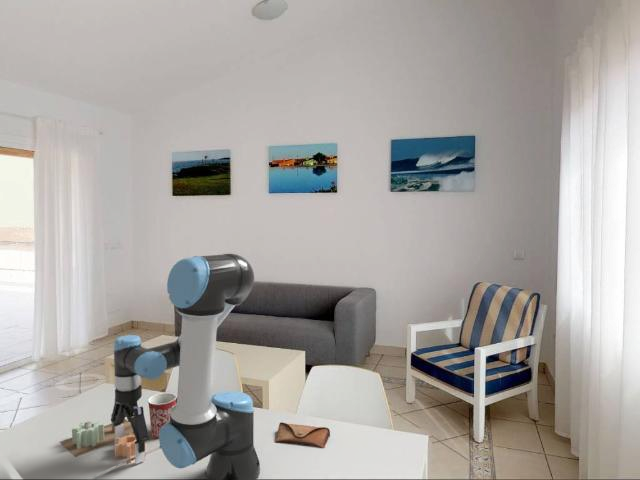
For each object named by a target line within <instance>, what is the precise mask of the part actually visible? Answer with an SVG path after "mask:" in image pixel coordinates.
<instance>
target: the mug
mask: <svg viewBox="0 0 640 480" xmlns="http://www.w3.org/2000/svg"><path fill="white" fill-rule="evenodd" d="M147 402H148V410H149V422H150V431H151V432H150V434H151V437H152V438H154V439H158V440H159V430H160V428H161V427H162V426H163V425H164V424H165V423H169V421H170V411H171V409H172V407H173V406H174V405H176V404H177V394H175V393H172V392H160V393H157V394H154V395H152V396H150V397H149V398H148V399H147Z"/></svg>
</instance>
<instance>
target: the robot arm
mask: <svg viewBox="0 0 640 480" xmlns="http://www.w3.org/2000/svg"><path fill="white" fill-rule="evenodd" d="M254 283H255V272H254V269H253V267H252V265H251V264H250V262H249V261H248V260H247V259H246V258H245V257H243V256H240V255H239V254H235V253H223V254H213V255H201V256H200V255H195V256H192V257H186V258H182V259H180V260H178V261H177V262H176V263H175V264H174V265H173V266H172V268H171V269H170V271H169V274H168V277H167V281H166V287H167V288H166V291H167V294H169V296H168V298H169V300H170V302H171V303H172V305H173V306H175V307H176V309H175V311H176V312H177V313H178V314H179V315H180V316H181V317H182V318H181V330H180V331H181V333H180V335H179V336H178V338H177V339H176V340H175V341H173V342H169V343H165V344H161V345H158V346H154V347H149V348H147V347H143V346H142V340H141V337H140V336H139V335H137V334H126V335H122V336H119V337H117V338H116V339H115V340H114V344H113V345H114V347H113V364H114V367H113V368H114V376H113V377H114V380H113V381H114V404H113V410H112V412H111V414H112V416H111V417H110V421H111V423H112V422H114V423H113V424H114V426H115V442H114V445H115V444H116V438H118V437H120V438H123V437H124V424H121V423H124V419H126V418H127V419H126V420H127V421H128V422H130V423H131V426H132V429H133V432H134V435H135V438H136V442H135V455H134V457H135V459H134V460H135V465H138V464H139V463H143V462H144V461H146V442H147V441H149V440H150V436H149V430H148V426H147V422H146V419H145V414H144V406H139V405H138V401H139V400H140V399H141V398H142V396H143V395H142V394H143V393H142V392H143V391H142V390H143V389H142V378H143V379H147V380H156V379H158V378H160V377H161V376H162V375H163V374H164V373H165V371H167V370H170V369H174V368H177V367H178V379H177V381H178V382H177V384H178V385H177V394H176V396H177V404H176V405H174V406H173V407H172V409H171V411H170V421H169V423H165V424H164V425H163V426H162V427H161V428H160V430H159V439H158V441H159V445H160V449H161V450H162V453H163V455H164V457H165V459H166V461H168V463H170V464H171V466H173V467H174V468H175V469H176V468H178V469H184V468H187V467H189V466H191V465H195V464H196V463H197V462H199V461H201V460H203V459H205V458H206V457H209V461H208V463H207V466H206V471H205V473H206V475H205V476H206V480H257V479H258V478H259V476H260V473H261V464H260V460H259V457H258V453H257V451H256V448H255V444H254V442H255V441H254V440H255V439H254V423H255V422H254V419H255V418H254V415H255V414H254V412H255V409H254V403H253V402H254V401H253V398H252V396H250V395H249V394H247V393H244V392H242V391H233V390H232V391H220V392H216V393H215V394H213V382H214V371H215V361H216V360H215V359H216V358H215V356H216V346H217V333H218V332H217V331H218V328H219V326H220V325H221V324H223V322H224V320H225V319H226V318H227V316H228V315H229V314H230V313H231V311H232V310H233V309H234V308H235V306H239V305H241V304H242V303H243V302H245V300H246V299H247V297H249V295H250V293H251V291H253V286H254Z"/></svg>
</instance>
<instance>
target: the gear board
mask: <svg viewBox="0 0 640 480" xmlns="http://www.w3.org/2000/svg"><path fill="white" fill-rule="evenodd" d="M111 416H112V413H111ZM85 422H86V423H85V424H84V426H85V429H89V428H91V427H92V423H91V422H92V421H91V422H90V421H85ZM113 423H114V422H111V423H109V424H107V425H104V440H99V441H98V443H96V446H94V447H92V446H91V445H90V446H87V447H85V446H83V447H82V448H80V449H77V444H72V437H70V438H66V439H65V440H62V441H59V443H60V444H61V445H62V446H63V447H64V448H66V450H67V451H69V453H71V454H72V456H73V457H75V458H76V457H79V456H82V455H84V454H86V453H89V452H92V451H94V450H97V449H100V448H102V447H104V446H107V445H111V444H112V443H115V426H114V424H113ZM121 424H124V436H127V435H129V433H132V432H133V429H132V426H131V423H130V422H128V419H126V418H125V419H124V423H121ZM133 434H134V432H133Z"/></svg>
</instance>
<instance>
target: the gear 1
mask: <svg viewBox="0 0 640 480" xmlns="http://www.w3.org/2000/svg"><path fill="white" fill-rule="evenodd" d="M86 422H87V421H81V422H80V424H78V426H76V427H75V426H74V427H72V429H71V436H72V437H71V438H72V444H77V449H80V448H82V447H83V446H85V447H87V446H90V445H91V446H92V447H94V446H96V443H98V441H99V440H104V426H105V424H104V423H100V419H95V420H94V421H92V420H91V421H90V420H89V422H91V423H92V427H91V428H89V429H85V426H84V424H85V423H86Z"/></svg>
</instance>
